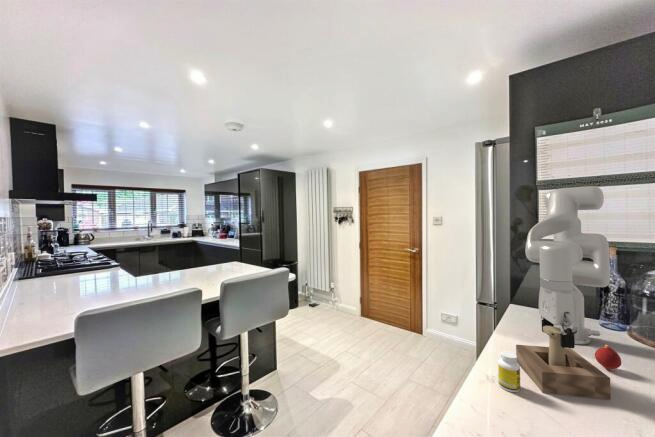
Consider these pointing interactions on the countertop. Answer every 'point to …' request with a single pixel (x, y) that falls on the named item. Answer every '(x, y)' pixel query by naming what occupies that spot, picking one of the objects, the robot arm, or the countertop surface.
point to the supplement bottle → (509, 372)
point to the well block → (563, 373)
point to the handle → (555, 346)
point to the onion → (608, 358)
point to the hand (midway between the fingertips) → (557, 339)
